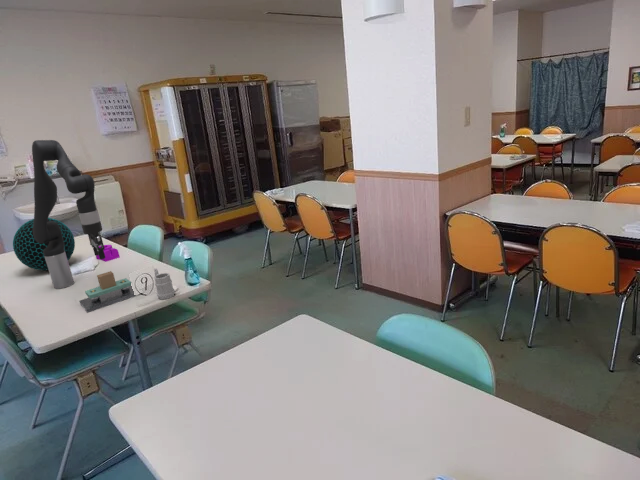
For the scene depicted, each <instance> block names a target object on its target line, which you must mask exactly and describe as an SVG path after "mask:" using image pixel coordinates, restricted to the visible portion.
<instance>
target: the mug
mask: <svg viewBox="0 0 640 480" xmlns="http://www.w3.org/2000/svg"><path fill="white" fill-rule="evenodd" d="M153 271H154V282H155V283H154V285H155V286H156V287H155V288H156V296H157V298H158V299H159V298H160V299H159V300H168V298H169V299H171V298H173V297H174V296H175V295H174V294H175V293H176V291H175V289H174V287H173V280H172V279H171V275H170V273H168V272H163V273H159V271H158V268H157V267H156V268H154V269H153Z"/></svg>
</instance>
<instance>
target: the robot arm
mask: <svg viewBox="0 0 640 480" xmlns="http://www.w3.org/2000/svg"><path fill="white" fill-rule="evenodd" d="M31 152H32V153H31V154H32V155H31V156H32V163H33V175H34V176H33V177H34V178H33V179H34V180H33V198H34V200H33V201H34V210H33V211H34V214H33V219H34V222H33V236H34V238H35V240H36V241H37V242H38V243H46V242H49V245H48V246H47V247H46V248H45V249H44V250H43V254H44V257H45V260H46V263H47V266H48V269H49V270H48V272H49V276H50V278H51V281H52V285H53V288H54V289H56V290H57V289H64V288H65V289H66V288H68V287H70V286H73V285H74V284H75V280H74V277H73V273H72V270H71V267H70V263H69V260H67V257H66V253H65V250H64V241H63V236H62V232H61V229H60V227H59V225H58V224H57V223H56V222H54V221H49V222H47V221H48V218H50V217H49V216H50V215H51V213H52V211H53V209H54V207H55V205H56V203H57V201H58V186H57V185H56V183H55V181H54V180H53V179H52V178H51V177H50V175H49V174H48V173H47V170H46V168H45V164H44V163H45V162H52V161H57V162H56V171H57V173H58V175H59V176H60V177H61V178H63V180H64V182H65V185H66V189H67V191H68V192H69V193H70V194H74V195H77V194H81V193H85V194H84V195H83V196H82V197H80V198H78V199H77V200H76V201H75V202H76V203H75V205H76V207H77V211H78V215H79V221H80V225H81V228H82V232H83V234H84V235H87V237H88V241H89V244H90V246H91V248H92V249H93V250H92V251H93V253H94V255H95V257H96V256H97V255H99V258H100V259H104V258H105V254H104V249H105V248H104V245H105V244H104V241H103V237H102V236H101V235H100V234H99V233H100V232H102V231H103V226H102V222H101V218H100V215H99V212H98V209H97V205H96V202H95V180H94V178H93V177H92V176H91V175H90V174H82V173H81V171H80V169H78V168H77V166H76V165H74V164H73V162H72V161H71V160H70V158H69V156H68V155H67V153H66V151H65V150H64V148H63V146H62V145H61V144H60V142H58V141H57V140H54V139H45V140H43V139H41V140H39V139H37V140H34V141H32V145H31ZM99 246H101V247H100V248H99Z"/></svg>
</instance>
